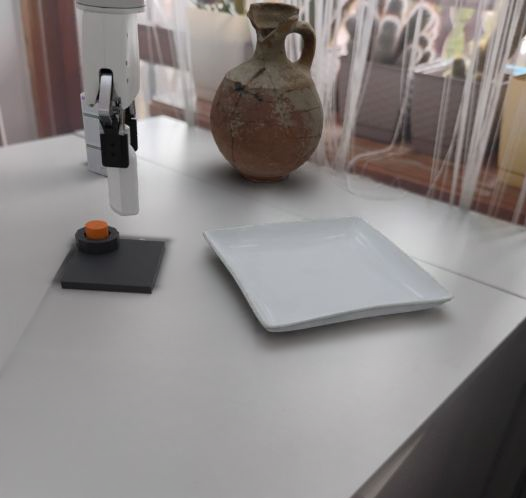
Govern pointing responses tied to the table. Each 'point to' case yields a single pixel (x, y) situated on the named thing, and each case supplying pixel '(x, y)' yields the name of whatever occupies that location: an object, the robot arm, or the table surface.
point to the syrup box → (92, 137)
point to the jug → (269, 100)
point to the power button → (96, 229)
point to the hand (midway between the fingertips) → (120, 156)
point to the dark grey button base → (113, 264)
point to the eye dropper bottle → (124, 184)
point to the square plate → (322, 272)
